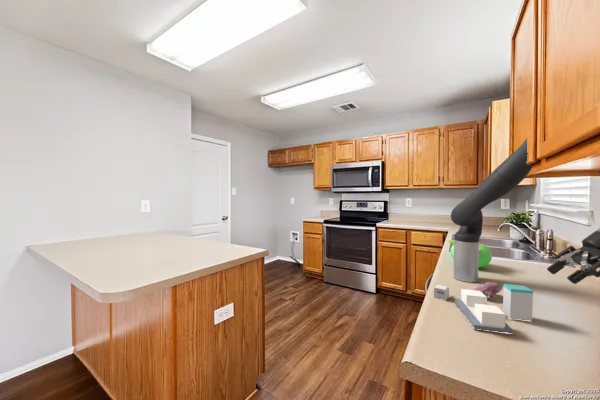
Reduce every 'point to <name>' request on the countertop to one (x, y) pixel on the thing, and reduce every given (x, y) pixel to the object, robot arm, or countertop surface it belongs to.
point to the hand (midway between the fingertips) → (559, 276)
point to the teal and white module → (518, 302)
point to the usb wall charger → (441, 292)
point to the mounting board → (482, 312)
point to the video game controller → (489, 289)
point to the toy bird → (484, 254)
